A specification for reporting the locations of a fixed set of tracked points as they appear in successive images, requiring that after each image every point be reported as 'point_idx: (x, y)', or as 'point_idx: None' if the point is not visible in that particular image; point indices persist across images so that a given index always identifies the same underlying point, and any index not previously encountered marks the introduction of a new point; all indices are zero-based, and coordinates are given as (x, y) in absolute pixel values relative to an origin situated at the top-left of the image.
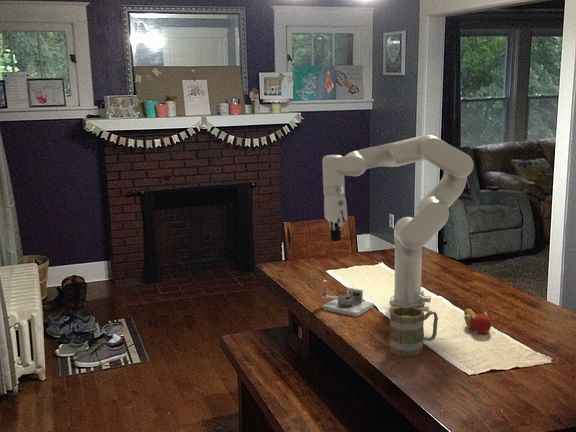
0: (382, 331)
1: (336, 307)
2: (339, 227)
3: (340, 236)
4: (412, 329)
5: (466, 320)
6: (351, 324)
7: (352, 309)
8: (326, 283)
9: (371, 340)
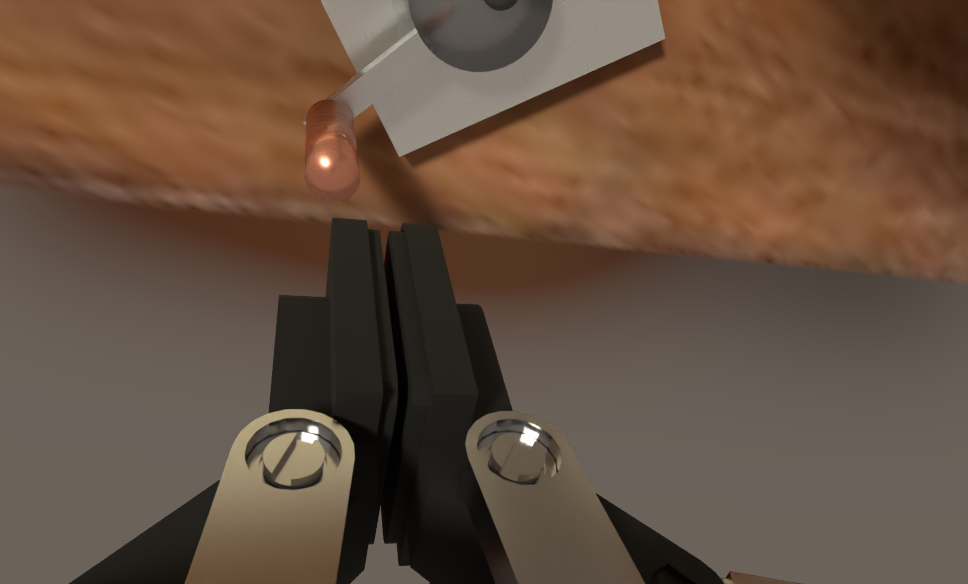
0: (911, 45)
1: (489, 96)
2: (627, 548)
3: (446, 269)
4: None
5: None
6: (712, 133)
7: (596, 21)
8: (356, 157)
9: (919, 169)
